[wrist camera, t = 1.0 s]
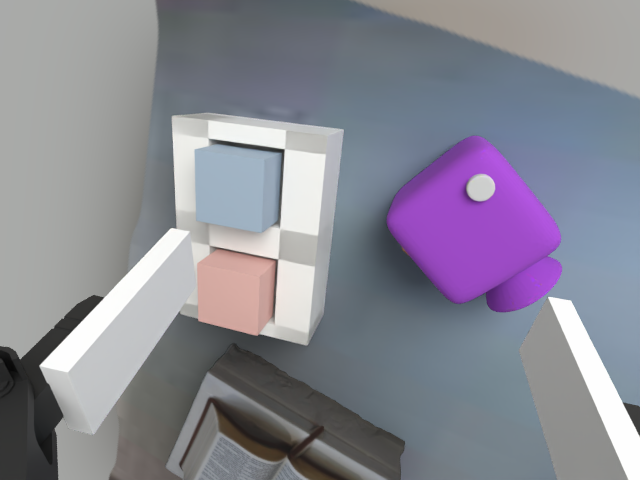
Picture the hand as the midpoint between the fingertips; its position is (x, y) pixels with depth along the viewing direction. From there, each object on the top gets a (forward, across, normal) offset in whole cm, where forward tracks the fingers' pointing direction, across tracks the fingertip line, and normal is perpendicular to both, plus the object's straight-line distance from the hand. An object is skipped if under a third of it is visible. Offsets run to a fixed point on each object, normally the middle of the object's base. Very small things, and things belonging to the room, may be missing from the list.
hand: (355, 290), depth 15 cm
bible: (+17, +5, +41) cm, 45 cm away
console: (+23, +10, +12) cm, 28 cm away
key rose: (+17, +11, +16) cm, 26 cm away
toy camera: (+22, -10, +7) cm, 26 cm away
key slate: (+19, +11, +6) cm, 23 cm away
